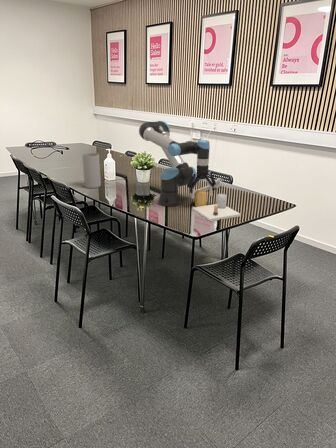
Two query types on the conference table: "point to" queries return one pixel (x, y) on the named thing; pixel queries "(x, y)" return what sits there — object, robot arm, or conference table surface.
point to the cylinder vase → (91, 170)
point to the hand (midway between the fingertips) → (201, 196)
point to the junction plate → (210, 211)
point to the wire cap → (200, 198)
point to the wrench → (210, 185)
